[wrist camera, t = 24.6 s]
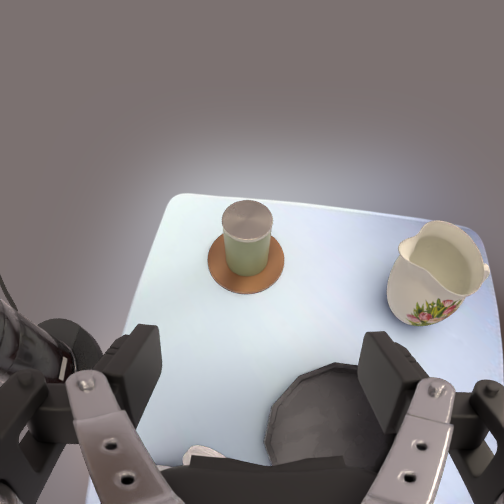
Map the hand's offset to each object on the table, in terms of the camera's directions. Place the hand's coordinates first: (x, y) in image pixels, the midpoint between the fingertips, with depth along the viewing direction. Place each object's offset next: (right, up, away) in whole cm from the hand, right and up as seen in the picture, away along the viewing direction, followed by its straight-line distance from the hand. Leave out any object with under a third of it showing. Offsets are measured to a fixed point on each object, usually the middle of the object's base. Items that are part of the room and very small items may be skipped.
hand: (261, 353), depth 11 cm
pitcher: (+24, -4, +31) cm, 39 cm away
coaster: (-1, +3, +34) cm, 34 cm away
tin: (-1, +3, +34) cm, 34 cm away
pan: (+15, -19, +21) cm, 32 cm away
